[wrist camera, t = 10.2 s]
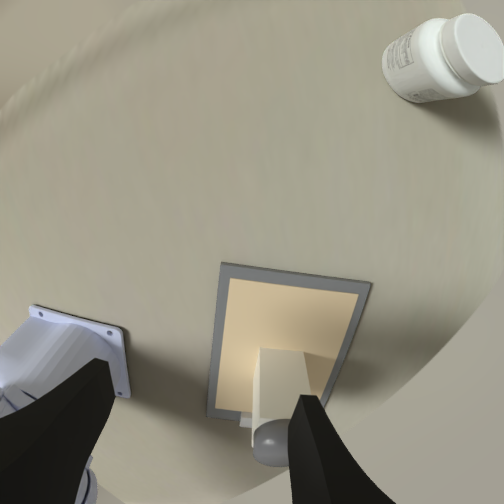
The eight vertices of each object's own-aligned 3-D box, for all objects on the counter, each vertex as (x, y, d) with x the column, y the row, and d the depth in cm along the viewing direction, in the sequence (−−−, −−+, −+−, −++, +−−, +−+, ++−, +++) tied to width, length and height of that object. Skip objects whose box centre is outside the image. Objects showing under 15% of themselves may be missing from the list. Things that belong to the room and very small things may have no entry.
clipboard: (206, 413, 25) (205, 423, 24) (221, 261, 20) (219, 269, 18) (314, 422, 25) (316, 432, 24) (369, 281, 20) (374, 289, 19)
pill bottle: (448, 84, 15) (526, 72, 8) (408, 115, 16) (486, 111, 9) (409, 30, 14) (476, -7, 7) (366, 59, 15) (427, 20, 8)
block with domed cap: (251, 379, 22) (249, 465, 15) (258, 346, 21) (258, 436, 14) (294, 383, 23) (304, 467, 15) (304, 350, 21) (321, 438, 14)
